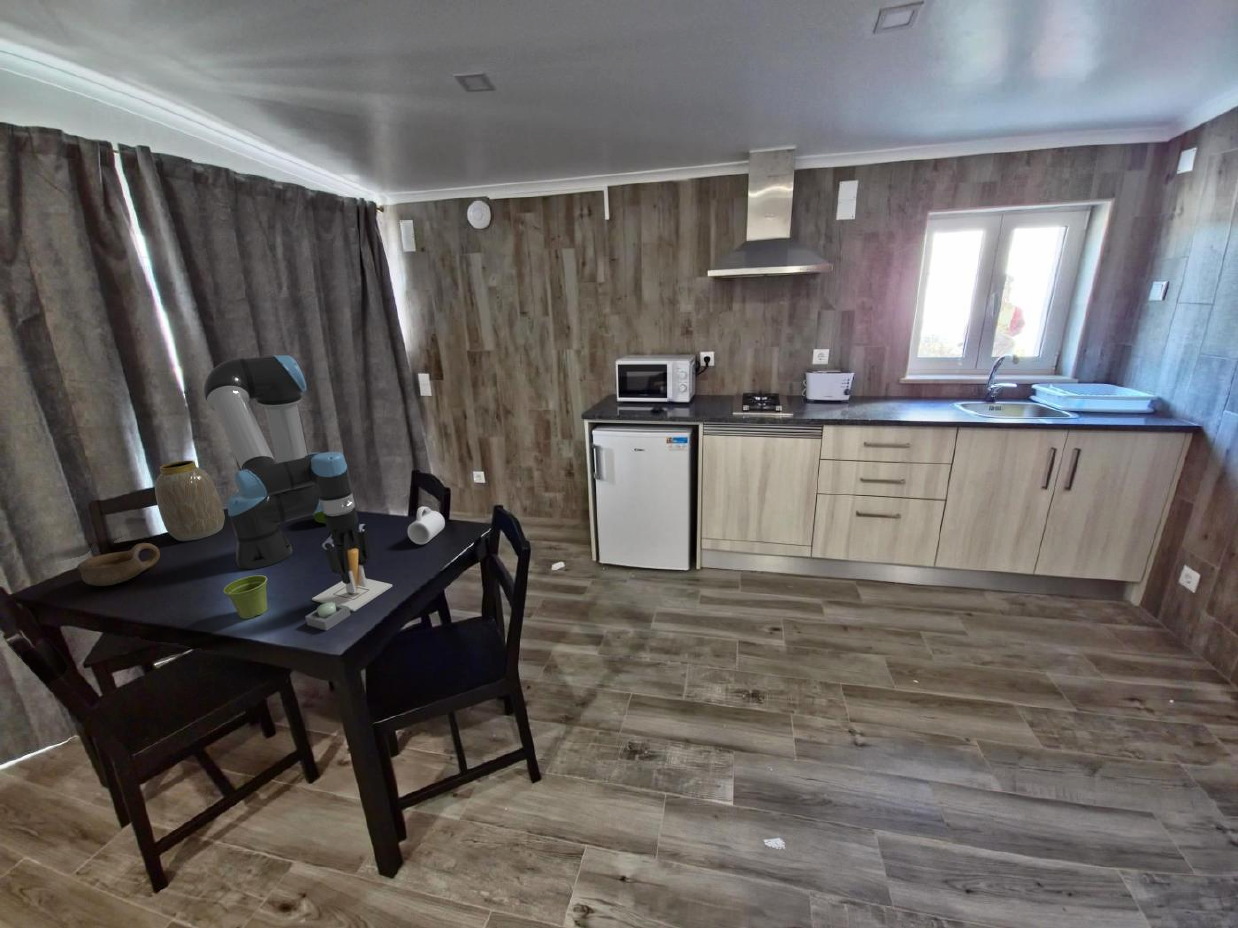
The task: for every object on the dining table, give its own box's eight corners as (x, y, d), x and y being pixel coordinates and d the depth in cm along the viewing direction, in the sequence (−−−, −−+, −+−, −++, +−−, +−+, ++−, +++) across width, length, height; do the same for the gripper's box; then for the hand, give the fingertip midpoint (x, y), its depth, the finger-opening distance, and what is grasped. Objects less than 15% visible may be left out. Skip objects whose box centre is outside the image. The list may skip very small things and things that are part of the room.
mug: (446, 531, 177) (441, 500, 174) (431, 545, 168) (426, 512, 164) (425, 531, 179) (420, 500, 175) (409, 544, 169) (403, 511, 165)
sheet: (312, 600, 138) (312, 598, 138) (352, 576, 149) (351, 575, 149) (354, 611, 132) (353, 609, 132) (392, 586, 143) (392, 584, 143)
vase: (201, 523, 194) (179, 457, 186) (240, 524, 192) (220, 457, 184) (156, 543, 178) (131, 472, 170) (198, 544, 176) (174, 472, 167)
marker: (343, 592, 139) (344, 551, 133) (352, 587, 141) (352, 546, 136) (351, 596, 138) (352, 555, 132) (359, 591, 141) (360, 550, 135)
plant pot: (246, 603, 138) (238, 576, 135) (282, 601, 138) (274, 573, 136) (224, 624, 129) (214, 595, 126) (262, 621, 129) (253, 592, 127)
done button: (315, 618, 127) (313, 609, 126) (329, 609, 131) (327, 600, 130) (326, 621, 126) (324, 612, 125) (340, 612, 129) (338, 603, 128)
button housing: (307, 624, 127) (305, 616, 126) (331, 609, 133) (329, 601, 132) (326, 630, 124) (324, 622, 124) (350, 614, 130) (348, 606, 130)
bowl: (140, 556, 165) (136, 530, 162) (171, 571, 162) (168, 546, 159) (70, 584, 149) (64, 556, 145) (104, 601, 146) (99, 573, 143)
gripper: (322, 524, 123) (342, 606, 130) (374, 501, 137) (389, 577, 144) (301, 520, 126) (322, 601, 133) (354, 498, 139) (370, 572, 147)
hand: (357, 588), depth 138 cm, fingers closed on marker, 3 cm apart
